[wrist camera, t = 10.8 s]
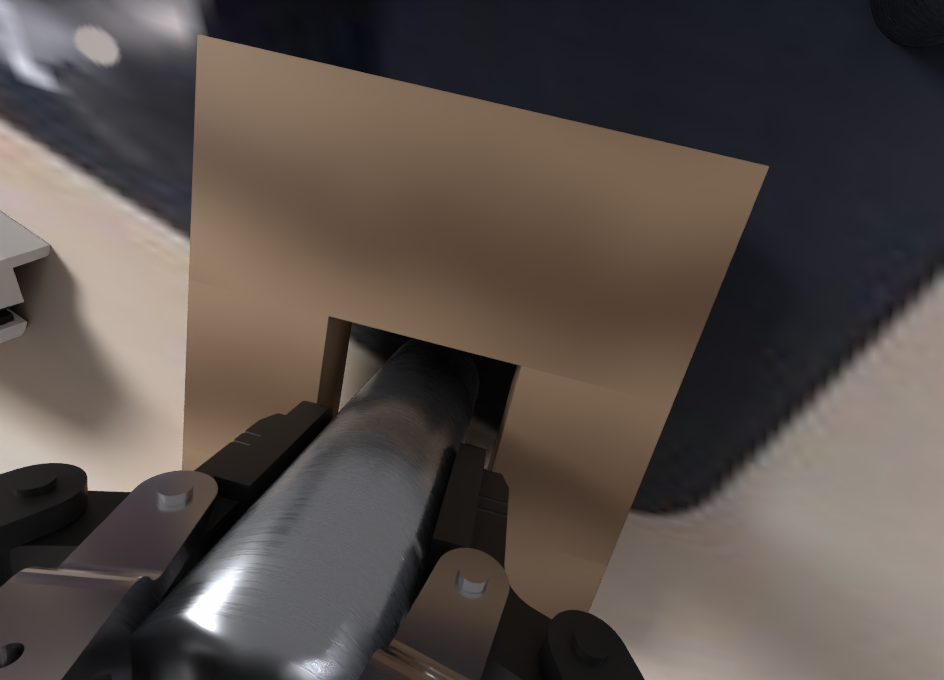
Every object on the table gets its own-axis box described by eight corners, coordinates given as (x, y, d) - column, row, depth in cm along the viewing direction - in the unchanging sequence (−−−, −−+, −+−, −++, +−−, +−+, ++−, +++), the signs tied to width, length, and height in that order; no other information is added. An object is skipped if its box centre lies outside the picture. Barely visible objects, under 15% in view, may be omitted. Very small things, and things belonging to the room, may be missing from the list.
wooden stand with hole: (305, 93, 16) (197, 34, 11) (686, 182, 15) (769, 166, 10) (263, 499, 21) (177, 592, 16) (544, 578, 21) (551, 702, 15)
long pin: (396, 325, 17) (104, 578, 5) (489, 349, 16) (404, 666, 5) (380, 409, 18) (110, 776, 6) (467, 432, 17) (356, 854, 6)
